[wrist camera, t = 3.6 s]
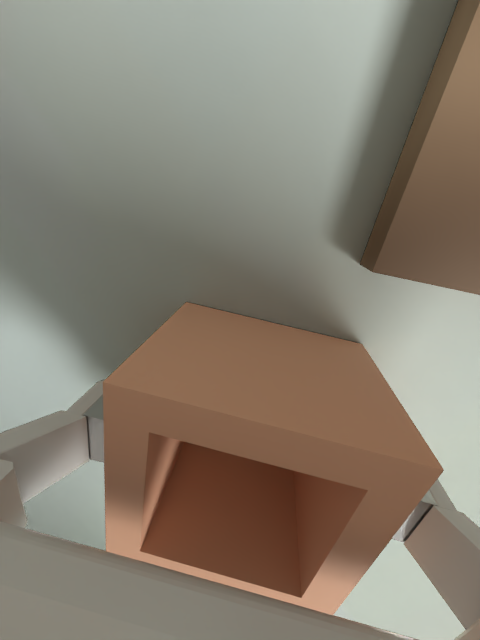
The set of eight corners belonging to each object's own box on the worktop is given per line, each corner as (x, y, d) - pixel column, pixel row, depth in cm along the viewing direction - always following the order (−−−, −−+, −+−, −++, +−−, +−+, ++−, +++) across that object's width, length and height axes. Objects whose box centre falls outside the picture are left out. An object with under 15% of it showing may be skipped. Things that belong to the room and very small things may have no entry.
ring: (307, 466, 12) (325, 624, 7) (170, 430, 12) (106, 560, 8) (362, 344, 9) (443, 470, 5) (186, 302, 10) (102, 382, 5)
